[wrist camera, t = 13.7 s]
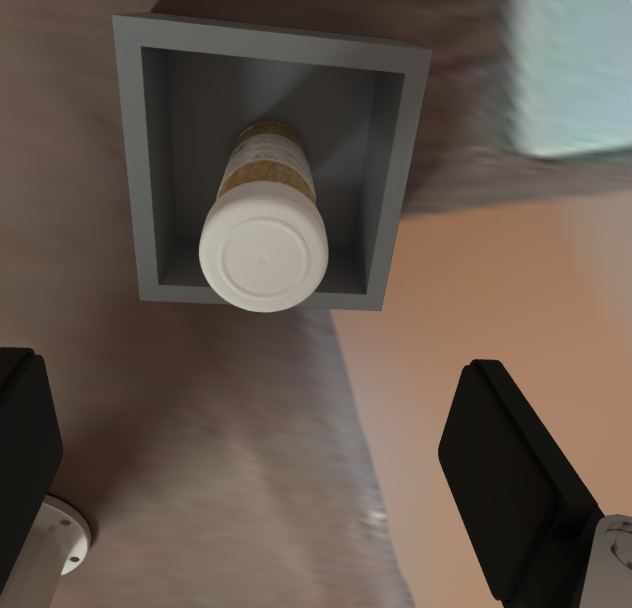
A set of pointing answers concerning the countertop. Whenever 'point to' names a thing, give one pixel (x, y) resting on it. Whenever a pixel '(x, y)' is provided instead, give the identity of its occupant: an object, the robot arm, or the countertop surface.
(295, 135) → the sprinkles bottle
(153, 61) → the bin
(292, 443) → the countertop surface
